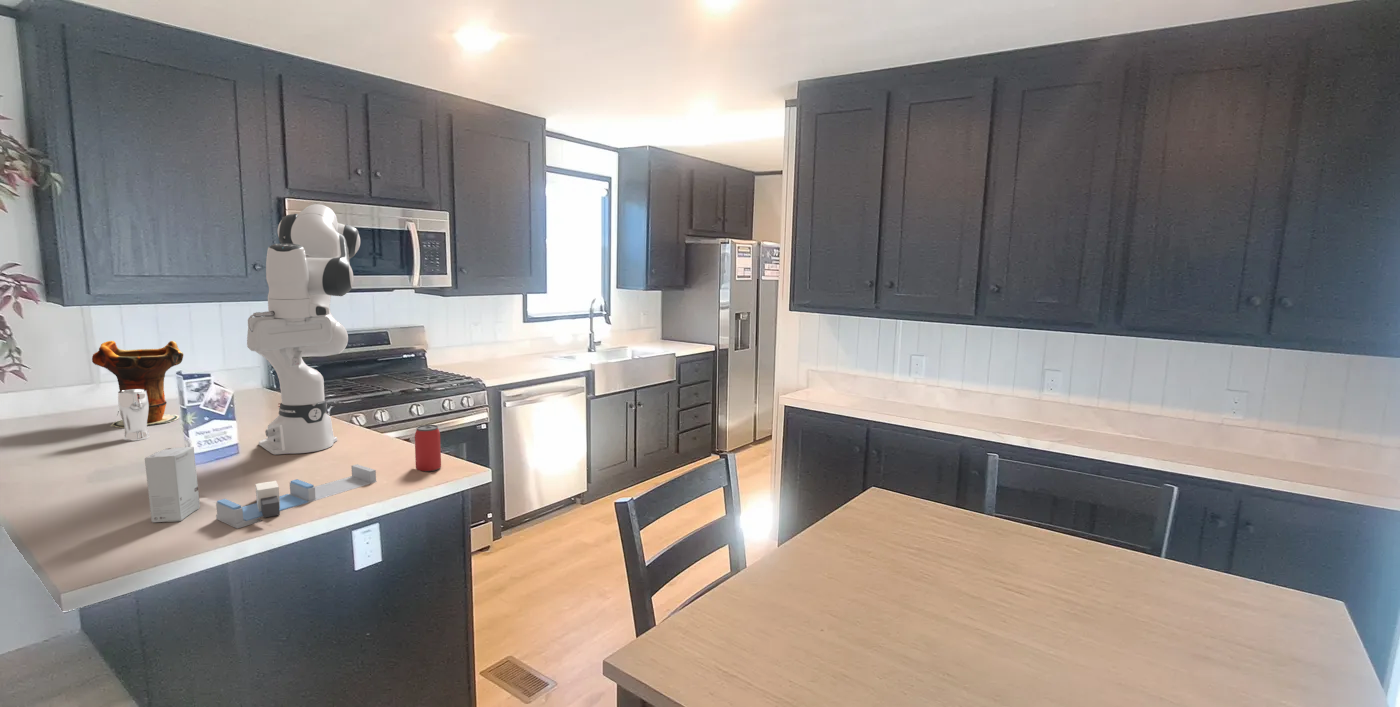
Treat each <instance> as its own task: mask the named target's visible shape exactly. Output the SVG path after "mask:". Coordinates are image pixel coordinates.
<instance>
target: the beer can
mask: <svg viewBox="0 0 1400 707" xmlns="http://www.w3.org/2000/svg"><path fill="white" fill-rule="evenodd" d="M440 432H441V431H440V430H439V426H438V425H436V424H423V425H419V426H417V427H416V431H415V433H414V449H415V450H414V452H415V453H414V454H415V455H414V456H415V457H414V458H415V469H416V470H417V471H419V472H423V473H429V472H430V473H431V472H436V471H437V470H439V469H440V468H441V467H442V454H441V450H442V449H441V447H442V446H441V433H440Z"/></svg>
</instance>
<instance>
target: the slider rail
mask: <svg viewBox="0 0 1400 707" xmlns="http://www.w3.org/2000/svg"><path fill="white" fill-rule="evenodd" d="M350 466H351V476H348V477H344V478H340V479H337V480H333V481H330V482H327V483H323V484H319V485H316V486H314V484H312V483H310V482H306V481H303V480H300V479H292V480H290V482H289V493H286V494H283V495H279V499H280V508H279V510H280V512H283V511H285V510H289V509H293V508H295V507H298V506H303V505H305V504H308V503H311V502H312V503H313V502H315V501H319V500H323V499H326V498H328V497H331V496H334V495H338V494H341V493H345V492H348V491H352V490H355V489H358V488H361V487H364V486H368V485H371V484H374V483H375V484H376V483H378V481H377V470H376V469H373V468H371V467H367V466H364V465H360V464H358V463H357V464H353V465H350ZM215 507H216V515H215V519H216V520H217V521H220V522H222V523H224V524H226V525H228V526H230V527H232V528H234V529H237V530H238V529H240V528H244V527H247V526H250V525H254V524H257V523H260V522H263V520H262V519H260V518H264V517H263V514H262V511H260V512H259V510H258V507H257V502H255V503H251V504H248V505H244V506H242V505H241V504H238V503H236V502H233V501H231V500H229V499H226V498H223V499H219V500H216V503H215Z"/></svg>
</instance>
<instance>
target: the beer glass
mask: <svg viewBox="0 0 1400 707" xmlns="http://www.w3.org/2000/svg"><path fill="white" fill-rule="evenodd" d="M117 393H118V394H117V405H118V411H119V416H120V418H121V420H122V421H123V424H124V433H123V434H124V436H123V440H124V441H126V442H137V441H144V440H147V439H149V438H150V437H151V434H150V433H149V429H148V425H147V419H148V411H149V402H148V396H147V391H146V389H129V390H123V391H120V390H119V391H117Z"/></svg>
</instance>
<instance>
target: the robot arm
mask: <svg viewBox="0 0 1400 707" xmlns="http://www.w3.org/2000/svg"><path fill="white" fill-rule="evenodd" d="M359 233H360V232H359V230H358V229H357V228H356V227H354V226H352V225H350V224H347V223H346V224H343V223H341V222H340V223H339V221H338V217H337V215H336V213H335V211H334V210H333V209H332V208H330V207H329V206H326V205H324V204H322V203H314V204H310V205H308V206H307V207H304V208H303V209H302V210H301V211H300V212H299V213H291V214H290V213H289V214H287V215H284V216H282V218H281V220H280V222H279V224H278V226H277V235H278V241H279V243H274V244H271V245H269V246H268V247H267V252H266V253H267V254H266V260H265V262H266V263H265V276H266V283H267V286H268V293H267V306H268V311H261V312H260V311H258V312H257V311H256V312H253V314H251V315H250V316H249V317H248V319H247V326H248V328H247V335H246V336H247V338H246V346H247V349H249V350H250V351H251V352H255V353H257V354H259V355H260V356H262V357H263V358H264V359H265V360H267V361H268V362H269V363H270V365H271V366H272V367H273V369H274V371H275V372H276V376H277V377H278V381H279V388H280V397H281V402H280V403H278V406H277V407H278V416H276V417H275V418H274V420H273V421H271V422H270V423H269V424H268V425H267V429H265V436H266V438H264V439H261V440H259V441H258V445H259V447H262V448H263V449H265V450H266V451H267V452H269V453H270V454H272V455H285V454H305V453H313V452H319V451H322V450H326V449H329V448H330V447H332V446H333V445H334V443H336V442H338V436H335V435H334V430H333V423H332V417H331V416H330V414H328V413H327V411H328V402H327V399H325V398H326V397H325V386H324V385H325V381H324V376H323V375H322V374H321V372H319V371H318V370H317V369H315V368H313V367H311V366H309V365H308V364H306V362H305V361H304V360H303V358H302V357H327V356H329V357H330V356H334V355H339V354H341V353H342V352H343V351H344V350H345V349H346V347H347V346H348V342H349V334H348V331H347V329H346V327H345V326H344V325H343V323H340V322H339V321H338V320H337V319H336V318H335V317H334V315H333V314H332V312H331V307H330V306H331V299H332V298H331V297H332V296H333V297H344V295H346V294H347V293H349V292H350V291H351V290H352V289H353V286H354V280H355V279H354V272H353V269H352V266H351V264H350V259H352V258H353V257H355V255H356V253H358V251H359V249H360V246H361V237H360V234H359Z"/></svg>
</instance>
